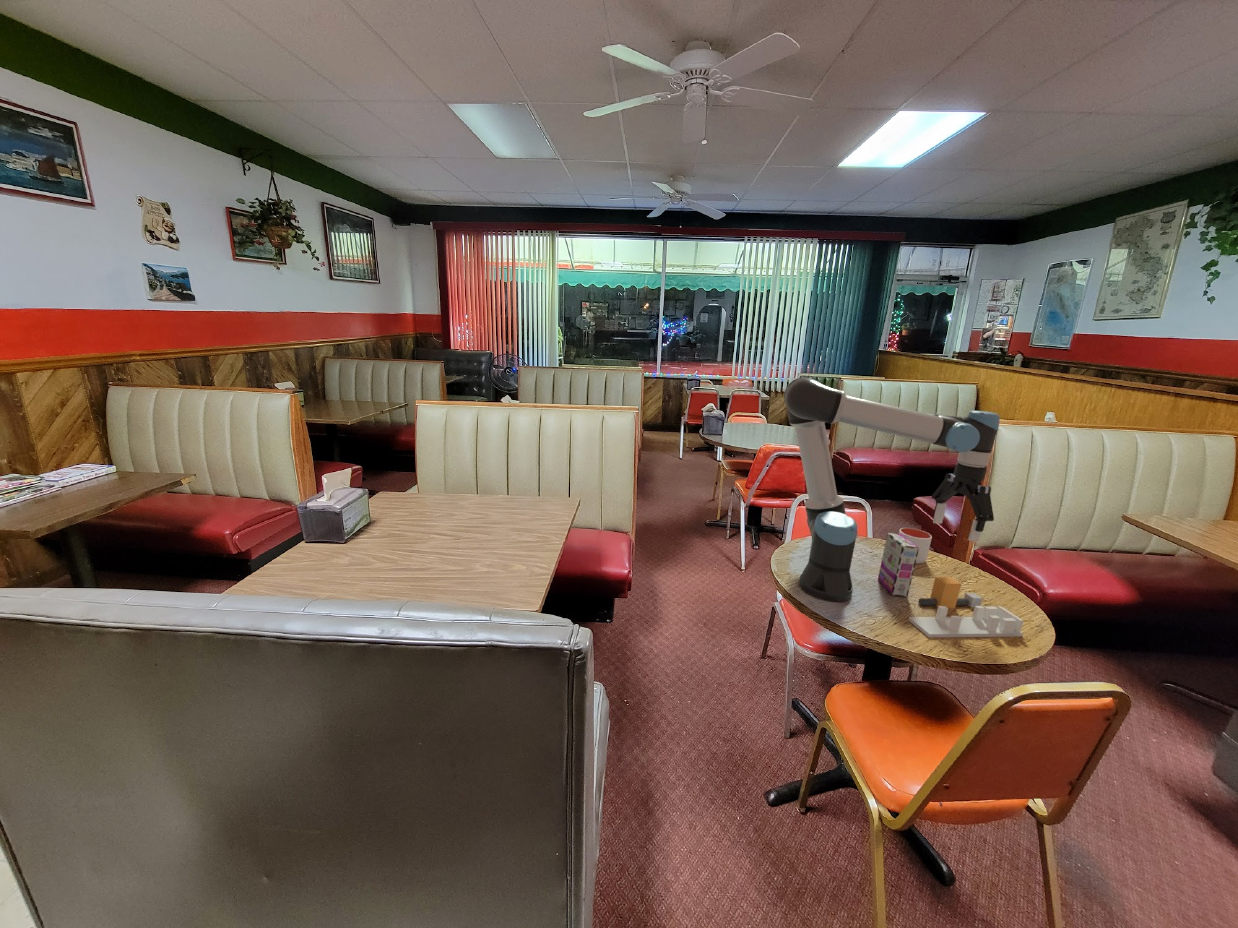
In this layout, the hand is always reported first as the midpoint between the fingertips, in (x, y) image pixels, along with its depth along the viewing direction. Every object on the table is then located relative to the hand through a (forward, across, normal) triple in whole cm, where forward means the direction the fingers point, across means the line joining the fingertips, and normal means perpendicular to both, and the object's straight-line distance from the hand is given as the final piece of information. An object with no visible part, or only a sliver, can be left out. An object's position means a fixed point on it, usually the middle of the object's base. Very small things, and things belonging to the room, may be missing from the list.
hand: (954, 531), depth 148 cm
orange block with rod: (+20, -8, +4) cm, 22 cm away
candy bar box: (+20, +2, +15) cm, 25 cm away
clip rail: (+20, -20, +10) cm, 30 cm away
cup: (+20, +22, -7) cm, 31 cm away
